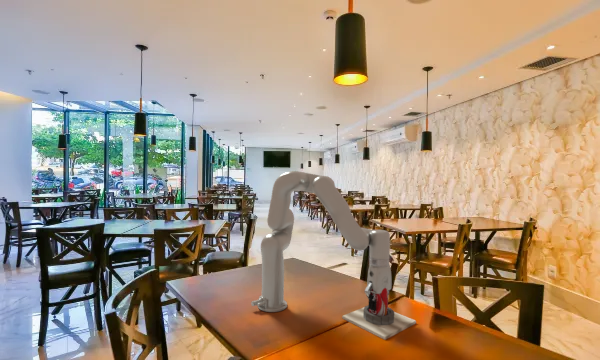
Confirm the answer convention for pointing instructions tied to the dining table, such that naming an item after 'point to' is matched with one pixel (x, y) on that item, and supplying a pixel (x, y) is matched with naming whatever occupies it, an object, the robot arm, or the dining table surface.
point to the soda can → (381, 303)
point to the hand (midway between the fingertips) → (378, 306)
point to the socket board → (378, 328)
